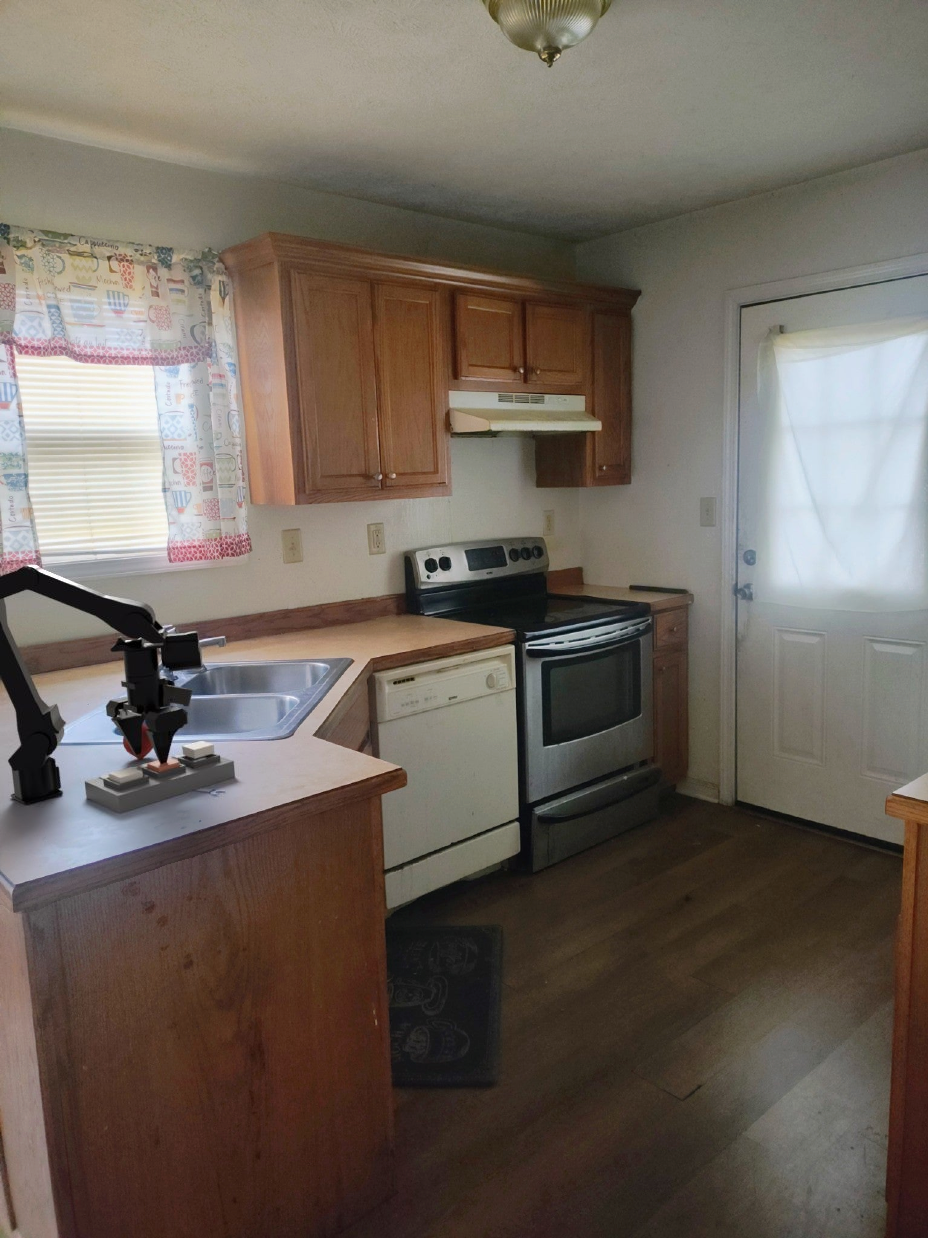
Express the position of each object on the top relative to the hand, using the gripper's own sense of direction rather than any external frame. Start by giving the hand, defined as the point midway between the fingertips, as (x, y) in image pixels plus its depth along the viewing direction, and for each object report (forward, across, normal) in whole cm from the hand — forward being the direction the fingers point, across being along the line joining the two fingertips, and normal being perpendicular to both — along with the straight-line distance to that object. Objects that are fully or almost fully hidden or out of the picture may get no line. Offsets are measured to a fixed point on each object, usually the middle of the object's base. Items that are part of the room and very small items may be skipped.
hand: (150, 758), depth 155 cm
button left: (+1, -4, +7) cm, 8 cm away
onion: (+5, +16, -6) cm, 17 cm away
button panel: (+5, -3, 0) cm, 6 cm away
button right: (0, -4, -7) cm, 8 cm away
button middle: (+2, -4, 0) cm, 5 cm away
